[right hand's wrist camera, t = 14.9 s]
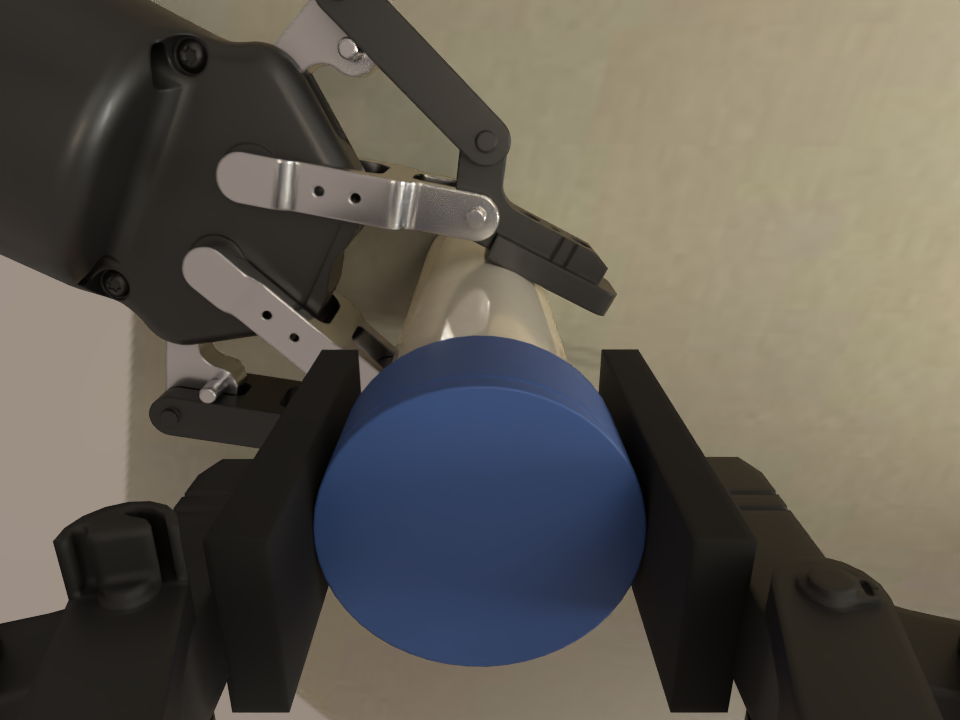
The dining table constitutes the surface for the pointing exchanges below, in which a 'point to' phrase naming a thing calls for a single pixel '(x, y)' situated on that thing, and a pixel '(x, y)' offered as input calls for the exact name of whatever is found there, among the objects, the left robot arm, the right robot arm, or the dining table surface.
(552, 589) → the lid
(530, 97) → the dining table surface
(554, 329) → the white cylindrical bottle
